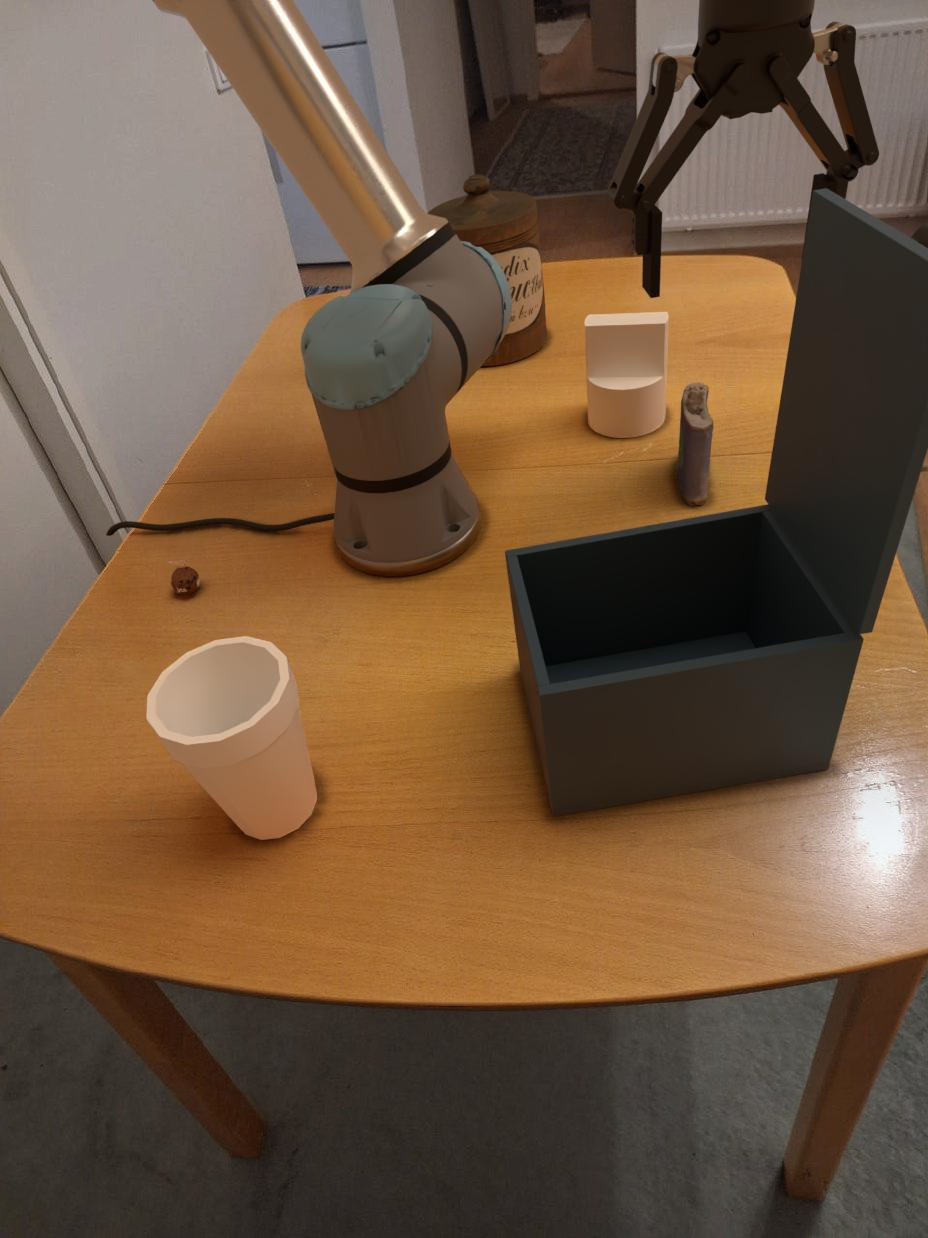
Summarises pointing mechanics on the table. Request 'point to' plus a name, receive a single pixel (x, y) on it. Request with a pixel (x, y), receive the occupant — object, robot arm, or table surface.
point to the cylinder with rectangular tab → (626, 372)
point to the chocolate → (184, 579)
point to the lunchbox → (678, 659)
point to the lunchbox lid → (853, 401)
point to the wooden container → (505, 257)
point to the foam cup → (238, 732)
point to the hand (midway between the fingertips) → (731, 278)
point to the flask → (694, 444)
